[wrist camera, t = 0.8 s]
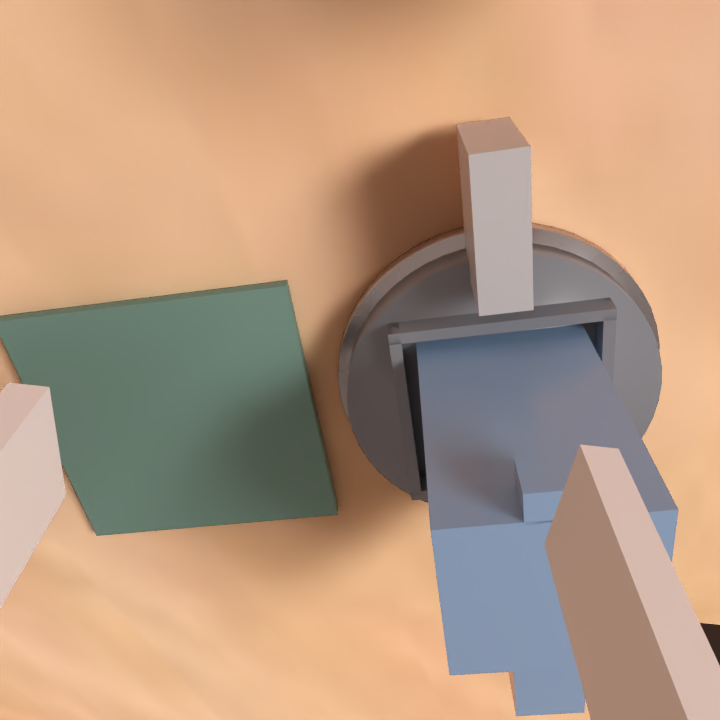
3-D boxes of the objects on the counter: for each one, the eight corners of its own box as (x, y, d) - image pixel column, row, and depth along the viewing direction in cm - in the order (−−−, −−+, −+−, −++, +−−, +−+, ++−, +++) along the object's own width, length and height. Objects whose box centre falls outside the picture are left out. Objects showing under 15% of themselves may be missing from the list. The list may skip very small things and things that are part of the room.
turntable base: (363, 498, 38) (362, 508, 37) (313, 245, 30) (311, 252, 29) (642, 472, 36) (647, 483, 35) (666, 199, 28) (673, 205, 28)
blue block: (437, 519, 35) (457, 732, 25) (413, 320, 29) (427, 502, 19) (578, 507, 34) (651, 722, 25) (582, 300, 28) (681, 480, 19)
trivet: (100, 528, 39) (96, 535, 39) (-1, 316, 32) (-8, 322, 32) (337, 507, 38) (337, 514, 37) (287, 280, 31) (285, 285, 30)
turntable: (370, 504, 36) (368, 569, 33) (302, 146, 27) (289, 179, 23) (640, 480, 35) (671, 545, 31) (673, 92, 25) (723, 119, 21)
